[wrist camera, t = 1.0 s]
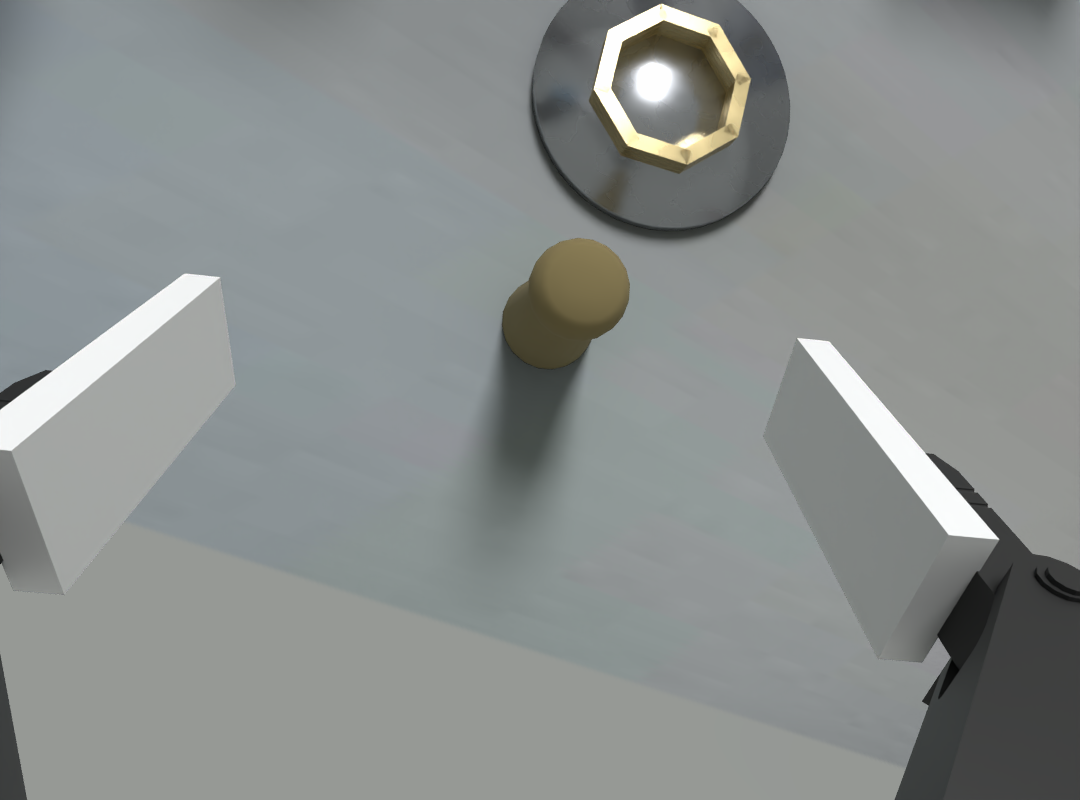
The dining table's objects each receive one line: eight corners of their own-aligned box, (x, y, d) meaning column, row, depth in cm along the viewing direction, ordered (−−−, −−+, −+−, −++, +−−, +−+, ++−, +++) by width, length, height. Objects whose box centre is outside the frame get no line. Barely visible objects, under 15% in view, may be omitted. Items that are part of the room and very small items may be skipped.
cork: (482, 316, 42) (499, 272, 31) (552, 259, 43) (591, 196, 32) (543, 388, 42) (580, 369, 32) (611, 329, 43) (670, 290, 33)
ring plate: (503, 186, 43) (507, 171, 41) (567, -61, 45) (574, -88, 42) (755, 262, 45) (772, 252, 43) (806, 25, 47) (824, 4, 45)
